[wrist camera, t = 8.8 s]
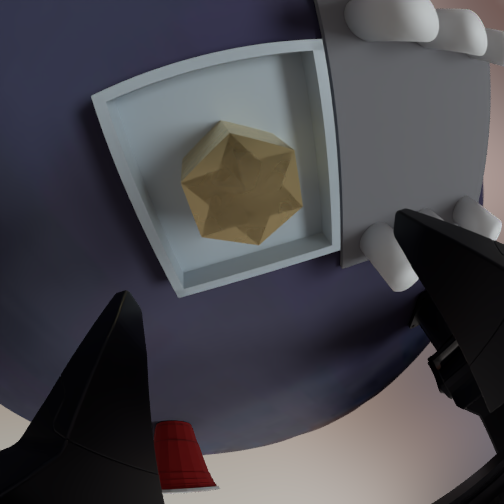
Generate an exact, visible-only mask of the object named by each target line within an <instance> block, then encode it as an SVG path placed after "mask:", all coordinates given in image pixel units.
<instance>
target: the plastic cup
mask: <svg viewBox="0 0 504 504" xmlns="http://www.w3.org/2000/svg"><path fill="white" fill-rule="evenodd" d="M154 448H155V455H156V462H157V468H158V475H159V479H160V484H161V489H162V494H172V493H188V492H200V491H209V490H216V489H220V488H219V486H216V484H215V482H214V481H213V479H212V477H211V475H210V473H209V472H208V469H207V466H206V464H205V461H204V458H203V456H202V453H201V450H200V447H199V444H198V443H197V440H196V437H195V434H194V431H193V428H192V426H191V424H189V423H187V422H182V421H164V422H160V423H158V424H157V425H156V428H155V433H154Z"/></svg>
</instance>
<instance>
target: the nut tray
mask: <svg viewBox="0 0 504 504" xmlns="http://www.w3.org/2000/svg"><path fill="white" fill-rule="evenodd" d="M91 98H92V101H93V104H94V107H95V110H96V113H97V116H98V119H99V122H100V125H101V128H102V131H103V133H104V136H105V139H106V142H107V144H108V147H109V150H110V152H111V155H112V157H113V160H114V162H115V165H116V168H117V170H118V172H119V175H120V177H121V180H122V182H123V185H124V187H125V189H126V192H127V194H128V196H129V199H130V201H131V203H132V205H133V208H134V210H135V212H136V214H137V216H138V219H139V221H140V223H141V225H142V227H143V229H144V231H145V234H146V236H147V238H148V240H149V242H150V244H151V246H152V248H153V250H154V252H155V254H156V256H157V258H158V260H159V262H160V264H161V266H162V268H163V270H164V272H165V274H166V276H167V277H168V279H169V281H170V283H171V285H172V287H173V289H174V290H175V292H176V294H177V296H178V298H180V297H184V296H187V295H191V294H194V293H198V292H202V291H205V290H209V289H212V288H216V287H219V286H223V285H226V284H230V283H233V282H237V281H240V280H244V279H247V278H250V277H254V276H257V275H261V274H264V273H267V272H271V271H274V270H277V269H281V268H284V267H287V266H291V265H294V264H297V263H300V262H304V261H307V260H310V259H313V258H317V257H320V256H323V255H326V254H329V253H333V252H336V251H339V250H340V195H339V174H338V159H337V146H336V134H335V124H334V115H333V106H332V98H331V90H330V83H329V76H328V70H327V64H326V58H325V52H324V46H323V41H322V39H309V40H294V41H283V42H274V43H265V44H258V45H252V46H245V47H240V48H234V49H229V50H224V51H220V52H215V53H211V54H206V55H202V56H198V57H195V58H191V59H187V60H184V61H180V62H177V63H174V64H170V65H167V66H164V67H161V68H158V69H155V70H152V71H149V72H147V73H144V74H141V75H139V76H136V77H133V78H131V79H128V80H126V81H123V82H121V83H119V84H116V85H114V86H112V87H109V88H107V89H105V90H103V91H101V92H99V93H96V94H94V95H92V96H91ZM220 120H222V121H227V122H231V123H235V124H239V125H243V126H247V127H251V128H255V129H259V130H262V131H266V132H269V133H272V134H274V135H275V136H277V137H278V138H279V139H281V140H282V141H283V142H284V143H286V144H287V145H288V146H290V147H291V148H292V149H294V151H295V157H296V163H297V169H298V176H299V182H300V189H301V196H302V203H303V207H302V208H301V209H300V210H299V211H297V212H296V213H295V214H294V215H293V216H292V217H291V218H289V219H288V220H287V221H286V222H285V223H284V224H283V225H282V226H280V227H279V228H278V229H277V230H276V231H275V232H274V233H272V234H271V235H270V236H269V237H268V238H267V239H266V240H264V241H263V242H262V243H261V244H260V245H253V244H246V243H239V242H232V241H225V240H218V239H210V238H203V237H201V235H200V232H199V230H198V227H197V225H196V222H195V219H194V217H193V214H192V212H191V209H190V206H189V204H188V201H187V198H186V196H185V193H184V190H183V188H182V185H181V170H182V159H183V158H184V157H185V156H186V155H187V153H188V152H189V151H190V150H191V149H192V148H193V147H194V146H195V145H196V144H197V143H198V142H199V141H200V140H201V139H202V138H203V137H204V136H205V135H206V134H207V133H208V132H209V131H210V130H211V129H212V128H213V127H214V126H215V125H216V124H217V123H218V122H219V121H220Z"/></svg>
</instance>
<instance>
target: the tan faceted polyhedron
mask: <svg viewBox="0 0 504 504" xmlns="http://www.w3.org/2000/svg"><path fill="white" fill-rule="evenodd" d="M181 185H182V188H183V190H184V193H185V196H186V198H187V201H188V204H189V206H190V209H191V212H192V214H193V217H194V219H195V222H196V225H197V227H198V230H199V232H200V235H201V237H203V238H210V239H218V240H225V241H232V242H239V243H246V244H253V245H260V244H261V243H262V242H263V241H264V240H266V239H267V238H268V237H269V236H270V235H271V234H272V233H274V232H275V231H276V230H277V229H278V228H279V227H280V226H282V225H283V224H284V223H285V222H286V221H287V220H288V219H289V218H291V217H292V216H293V215H294V214H295V213H296V212H297V211H299V210H300V209H301V208H302V207H303V203H302V196H301V189H300V182H299V176H298V169H297V163H296V157H295V151H294V149H292V148H291V147H290V146H288V145H287V144H286V143H284V142H283V141H282V140H281V139H279V138H278V137H277V136H275V135H274V134H272V133H269V132H266V131H262V130H259V129H255V128H251V127H247V126H243V125H239V124H235V123H231V122H227V121H222V120H220V121H219V122H218V123H217V124H216V125H215V126H214V127H213V128H212V129H211V130H210V131H209V132H208V133H207V134H206V135H205V136H204V137H203V138H202V139H201V140H200V141H199V142H198V143H197V144H196V145H195V146H194V147H193V148H192V149H191V150H190V151H189V152H188V153H187V155H186V156H185V157H184V158H183V159H182V170H181Z"/></svg>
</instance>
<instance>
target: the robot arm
mask: <svg viewBox="0 0 504 504" xmlns="http://www.w3.org/2000/svg"><path fill="white" fill-rule="evenodd" d="M393 233H394V237H395V239H396V240H397V242H398V244H399V246H400V247H401V249H402V251H403V252H404V254H405V256H406V258H407V259H408V261H409V263H410V265H411V267H412V268H413V270H414V272H415V273H416V275H417V276H418V278H419V279H420V281H421V283H422V284H423V286H424V287H425V289H426V290H427V292H425V293H423V294H421V295H420V296H419V298H418V301H417V304H416V307H415V310H414V312H413V315H412V318H411V320H410V323H409V328H410V329H411V328H414V327H416V326H418V325H420V326H421V328H422V329H423V331H424V332H425V334H426V335H427V337H428V338H429V340H430V341H431V343H432V344H433V346H434V347H435V348H436V350H437V352H436V353H435V354H434V355H432V356H430V357H429V358H428V361H429V362H428V365H429V366H430V368H431V370H432V372H433V374H434V376H435V379H436V382H437V385H438V389H439V391H440V392H441V393H445V394H446V395H447V396H448V397H449V398H450V399H452V398H453V400H454V402H455V404H456V406H458V407H460V408H462V409H465V410H467V411H469V412H472V413H474V414H476V415H479V416H480V418H481V420H482V422H483V424H484V426H485V428H486V430H487V432H488V435H489V437H490V439H491V441H492V444H493V446H494V448H495V451H496V453H497V454H496V455H495V456H494V457H493V458H492V459H491V460H490V461H489V462H487V464H485V465H484V466H483V467H482V468H481V469H479V470H478V471H477V472H476V473H474V474H473V475H472V476H471V477H469V478H468V479H467V480H465V481H464V482H463V483H461V484H460V485H459V486H457V487H456V488H455V489H453V490H452V491H450V492H449V493H447V494H446V495H444V496H443V497H442V498H440V499H438V500H437V501H435V502H434V503H432V504H504V244H502V243H499V242H497V241H495V240H492V239H490V238H487V237H485V236H483V235H480V234H478V233H475V232H473V231H470V230H467V229H465V228H462V227H460V226H457V225H454V224H451V223H449V222H446V221H443V220H440V219H438V218H435V217H432V216H429V215H426V214H423V213H420V212H417V211H414V210H411V209H407V208H404V209H401V210H398V211H397V212H396V213H395V220H394V229H393ZM0 504H164V499H163V494H162V489H161V484H160V479H159V475H158V468H157V462H156V455H155V448H154V440H153V432H152V423H151V412H150V401H149V386H148V367H147V351H146V344H145V336H144V328H143V319H142V312H141V309H140V307H139V305H138V304H137V302H136V301H135V299H134V298H133V296H132V295H131V293H130V292H129V291H126V290H125V291H122V292H118V293H116V294H115V295H114V297H113V298H112V299H111V301H110V302H109V303H108V305H107V306H106V308H105V309H104V310H103V312H102V313H101V315H100V316H99V317H98V319H97V320H96V322H95V323H94V325H93V326H92V328H91V329H90V330H89V332H88V333H87V335H86V336H85V338H84V339H83V341H82V342H81V344H80V345H79V347H78V348H77V350H76V352H75V353H74V355H73V356H72V358H71V359H70V361H69V362H68V364H67V366H66V367H65V369H64V371H63V372H62V374H61V376H60V377H59V379H58V380H57V382H56V384H55V385H54V387H53V389H52V390H51V392H50V394H49V395H48V397H47V399H46V400H45V402H44V403H43V405H42V406H41V408H40V409H39V411H38V412H37V414H36V415H35V417H34V419H33V420H32V422H31V423H30V425H29V426H28V428H27V430H26V431H25V433H24V434H23V436H22V437H21V439H20V440H19V441H18V442H17V443H15V444H14V445H12V446H11V447H9V448H6V449H4V450H1V451H0Z"/></svg>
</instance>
